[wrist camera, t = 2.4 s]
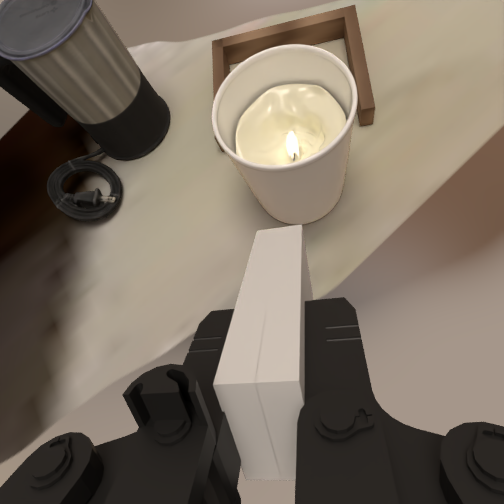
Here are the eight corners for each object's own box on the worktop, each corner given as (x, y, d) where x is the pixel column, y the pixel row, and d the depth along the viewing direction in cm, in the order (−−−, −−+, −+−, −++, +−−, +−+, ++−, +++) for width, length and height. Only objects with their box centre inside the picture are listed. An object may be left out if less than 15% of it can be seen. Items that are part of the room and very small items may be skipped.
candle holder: (298, 253, 33) (277, 197, 22) (231, 189, 37) (184, 113, 25) (374, 181, 33) (392, 89, 22) (300, 125, 37) (283, 21, 26)
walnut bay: (222, 152, 38) (214, 138, 36) (219, 58, 42) (212, 41, 40) (372, 123, 35) (375, 106, 33) (353, 26, 39) (354, 4, 37)
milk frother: (166, 82, 43) (84, -50, 29) (189, 195, 38) (102, 97, 24) (62, 124, 45) (-60, 18, 31) (70, 236, 40) (-74, 168, 26)
